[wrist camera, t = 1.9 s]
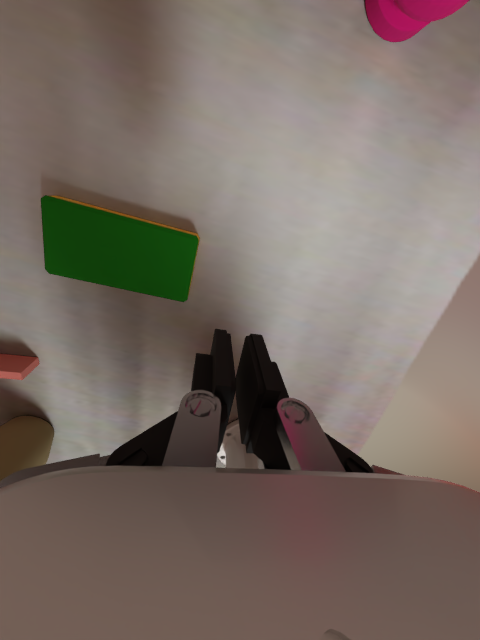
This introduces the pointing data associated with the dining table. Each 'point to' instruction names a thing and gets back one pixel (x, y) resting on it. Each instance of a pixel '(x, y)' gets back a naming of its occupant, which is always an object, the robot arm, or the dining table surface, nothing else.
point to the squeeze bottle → (24, 444)
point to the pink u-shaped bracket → (16, 366)
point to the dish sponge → (117, 249)
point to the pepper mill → (407, 16)
